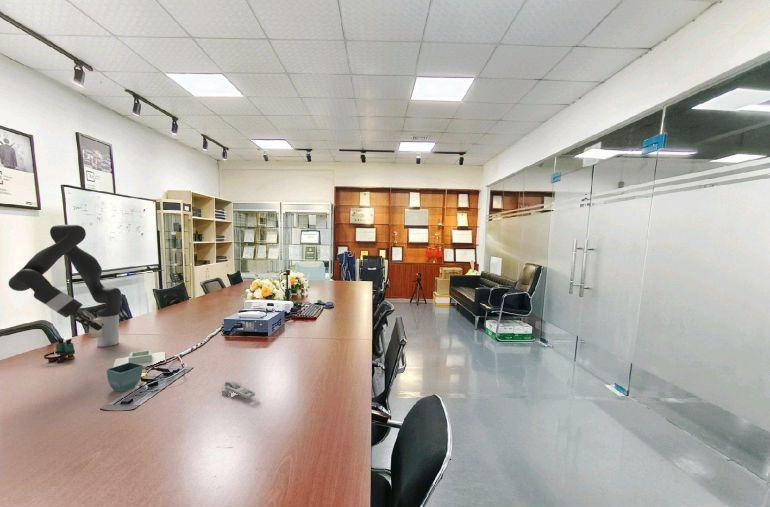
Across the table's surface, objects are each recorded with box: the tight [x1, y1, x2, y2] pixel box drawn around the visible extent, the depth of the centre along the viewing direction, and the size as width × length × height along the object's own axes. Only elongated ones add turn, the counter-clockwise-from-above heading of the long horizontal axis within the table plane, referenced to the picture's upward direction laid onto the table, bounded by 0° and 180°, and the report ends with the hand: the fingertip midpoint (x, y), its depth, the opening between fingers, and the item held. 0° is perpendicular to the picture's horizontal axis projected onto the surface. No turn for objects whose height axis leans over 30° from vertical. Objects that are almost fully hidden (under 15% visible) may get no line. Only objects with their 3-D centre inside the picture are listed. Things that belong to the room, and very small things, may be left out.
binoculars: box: [43, 337, 76, 364], centre depth 150 cm, size 9×11×10 cm
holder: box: [112, 349, 166, 369], centre depth 151 cm, size 18×20×4 cm
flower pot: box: [106, 362, 144, 393], centre depth 125 cm, size 9×9×9 cm
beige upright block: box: [88, 319, 102, 339], centre depth 140 cm, size 4×4×8 cm
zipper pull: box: [221, 380, 256, 399], centre depth 122 cm, size 8×18×4 cm, turn 57°
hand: (101, 327), depth 142 cm, fingers closed on beige upright block, 4 cm apart
